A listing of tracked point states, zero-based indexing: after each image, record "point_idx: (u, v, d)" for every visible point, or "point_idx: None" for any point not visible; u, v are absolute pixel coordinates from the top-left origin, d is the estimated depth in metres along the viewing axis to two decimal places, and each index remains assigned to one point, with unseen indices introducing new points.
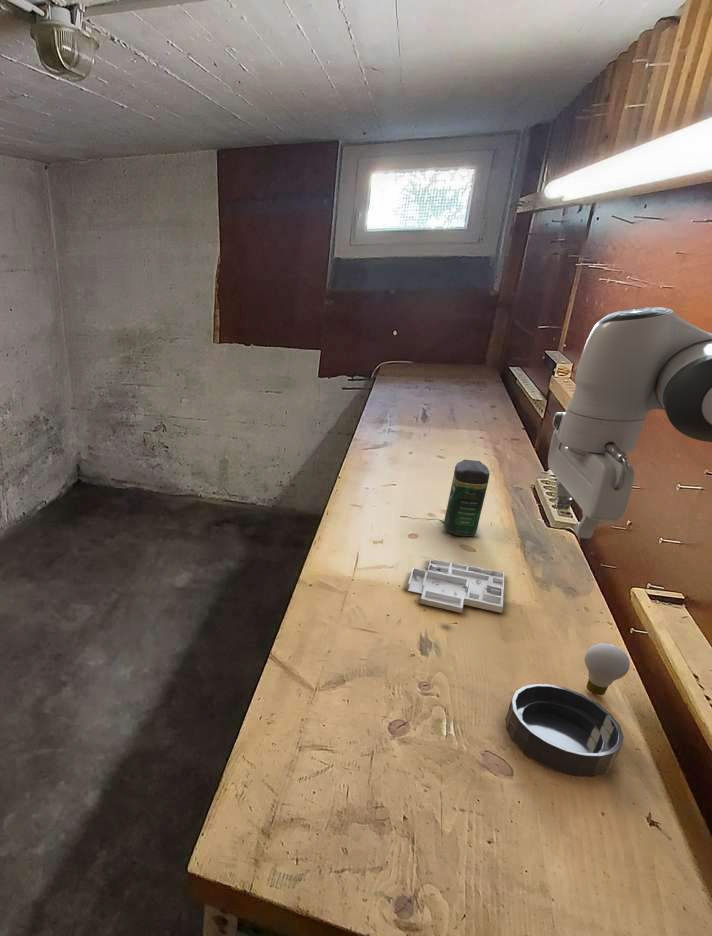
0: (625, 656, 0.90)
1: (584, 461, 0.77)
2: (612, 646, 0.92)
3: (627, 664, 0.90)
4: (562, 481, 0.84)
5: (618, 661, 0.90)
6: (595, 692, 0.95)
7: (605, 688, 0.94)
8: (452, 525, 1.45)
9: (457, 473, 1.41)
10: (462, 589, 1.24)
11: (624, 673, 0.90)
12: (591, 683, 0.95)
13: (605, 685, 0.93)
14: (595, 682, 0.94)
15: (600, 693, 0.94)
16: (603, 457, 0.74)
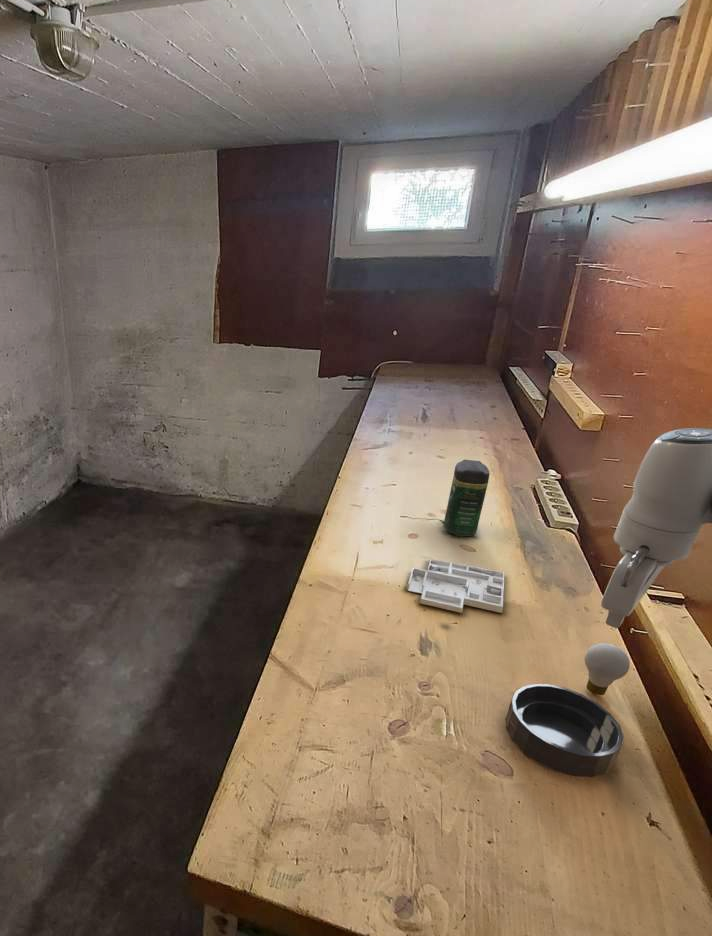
0: (625, 656, 0.90)
1: None
2: (612, 646, 0.92)
3: (627, 664, 0.90)
4: None
5: (618, 661, 0.90)
6: (595, 692, 0.95)
7: (605, 688, 0.94)
8: (452, 525, 1.45)
9: (457, 473, 1.41)
10: (462, 589, 1.24)
11: (624, 673, 0.90)
12: (591, 683, 0.95)
13: (605, 685, 0.93)
14: (595, 682, 0.94)
15: (600, 693, 0.94)
16: None
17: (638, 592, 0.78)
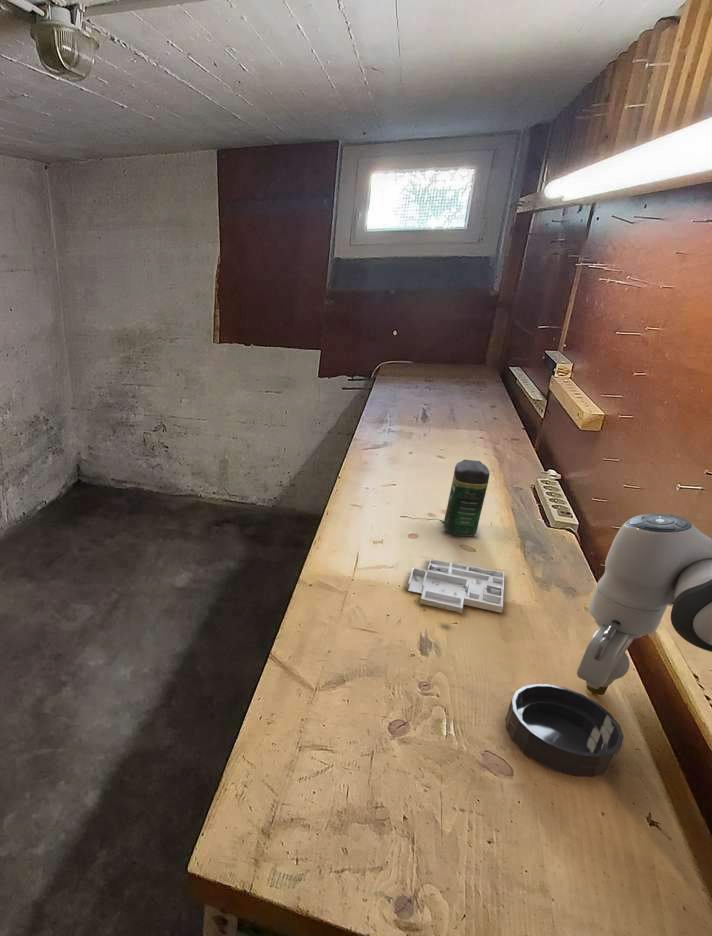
0: (625, 656, 0.91)
1: None
2: None
3: (627, 663, 0.90)
4: None
5: None
6: (595, 692, 0.94)
7: (605, 688, 0.94)
8: (452, 525, 1.45)
9: (457, 473, 1.41)
10: (462, 589, 1.24)
11: (624, 672, 0.90)
12: None
13: (605, 685, 0.93)
14: None
15: (600, 693, 0.94)
16: (604, 631, 0.87)
17: (610, 666, 0.84)
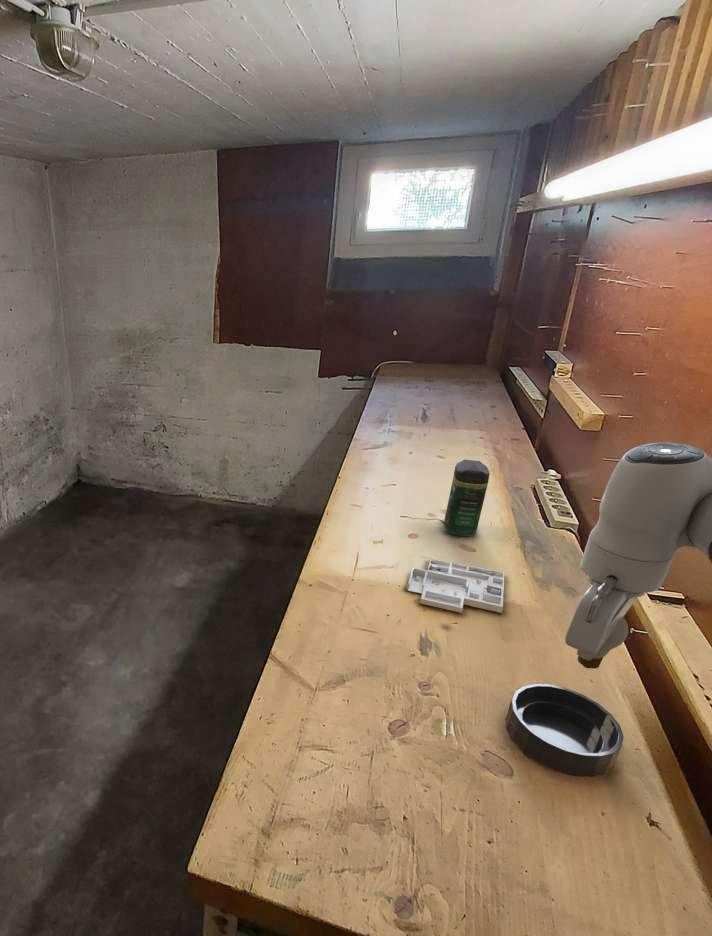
0: (623, 620, 0.76)
1: None
2: None
3: (625, 629, 0.76)
4: None
5: None
6: (588, 665, 0.80)
7: (599, 659, 0.79)
8: (452, 525, 1.45)
9: (457, 473, 1.41)
10: (462, 589, 1.24)
11: (622, 640, 0.76)
12: None
13: (599, 656, 0.78)
14: None
15: (594, 666, 0.80)
16: None
17: (605, 629, 0.69)
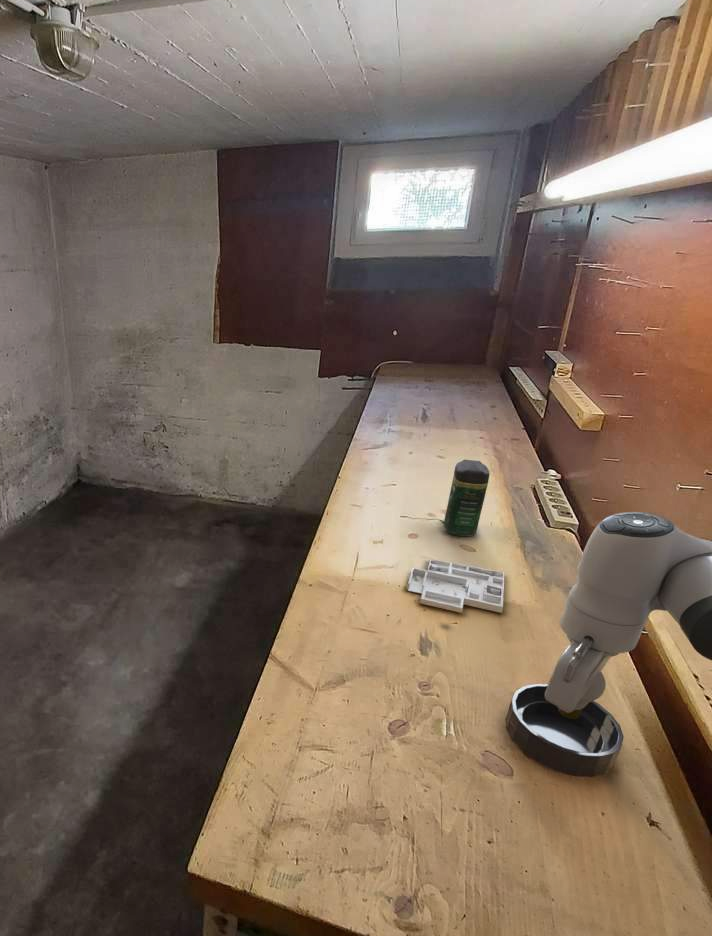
0: (600, 675, 0.80)
1: None
2: None
3: (603, 684, 0.79)
4: None
5: None
6: (568, 715, 0.84)
7: (579, 711, 0.83)
8: (452, 525, 1.45)
9: (457, 473, 1.41)
10: (462, 589, 1.24)
11: (599, 694, 0.80)
12: None
13: (578, 707, 0.82)
14: None
15: (573, 717, 0.83)
16: (576, 648, 0.76)
17: (581, 688, 0.73)
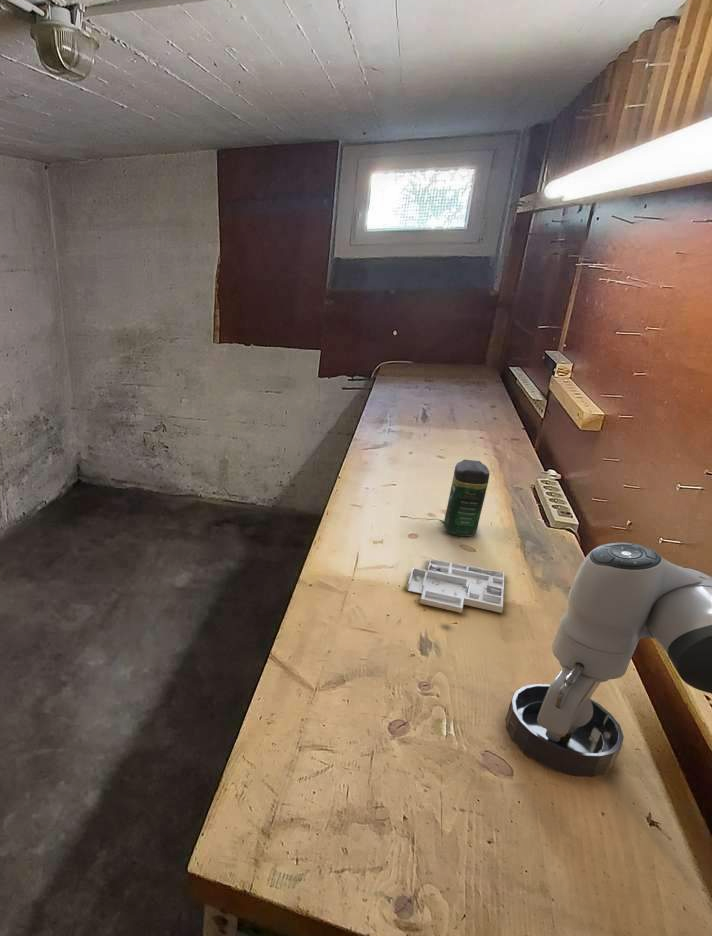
0: (587, 702, 0.81)
1: None
2: None
3: (590, 711, 0.81)
4: None
5: None
6: None
7: (569, 734, 0.85)
8: (452, 525, 1.45)
9: (457, 473, 1.41)
10: (462, 589, 1.24)
11: (587, 721, 0.81)
12: None
13: (568, 732, 0.84)
14: None
15: (565, 740, 0.85)
16: (567, 674, 0.78)
17: (572, 714, 0.75)
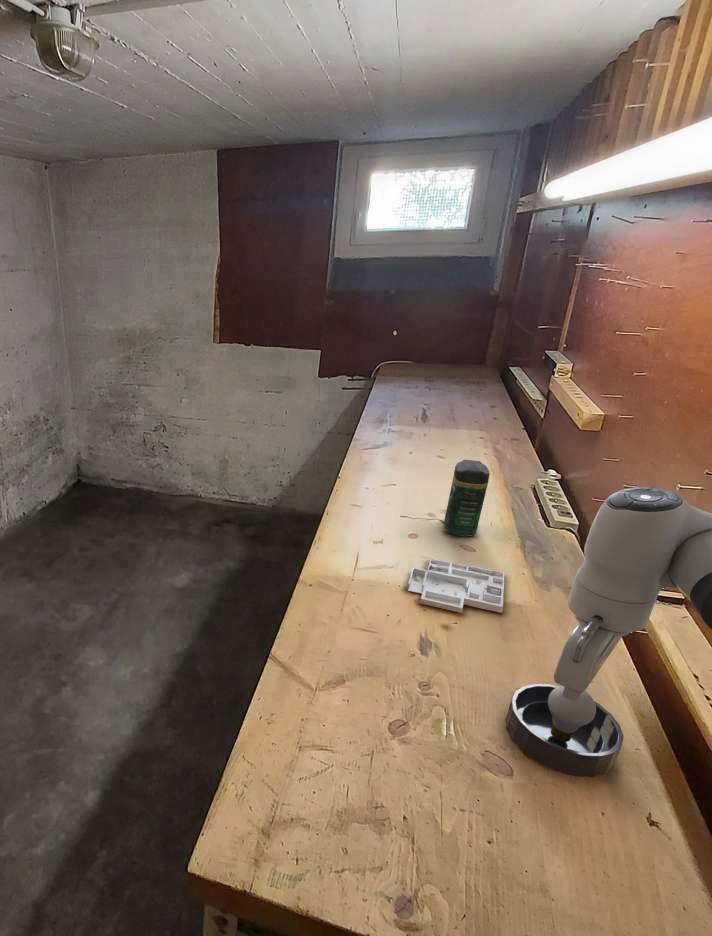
0: (591, 701, 0.82)
1: None
2: None
3: (593, 710, 0.81)
4: None
5: (582, 706, 0.81)
6: (559, 738, 0.86)
7: (570, 734, 0.85)
8: (452, 525, 1.45)
9: (457, 473, 1.41)
10: (462, 589, 1.24)
11: (590, 719, 0.82)
12: (555, 729, 0.86)
13: (570, 731, 0.84)
14: (559, 728, 0.85)
15: (565, 740, 0.86)
16: (584, 628, 0.74)
17: (591, 669, 0.71)
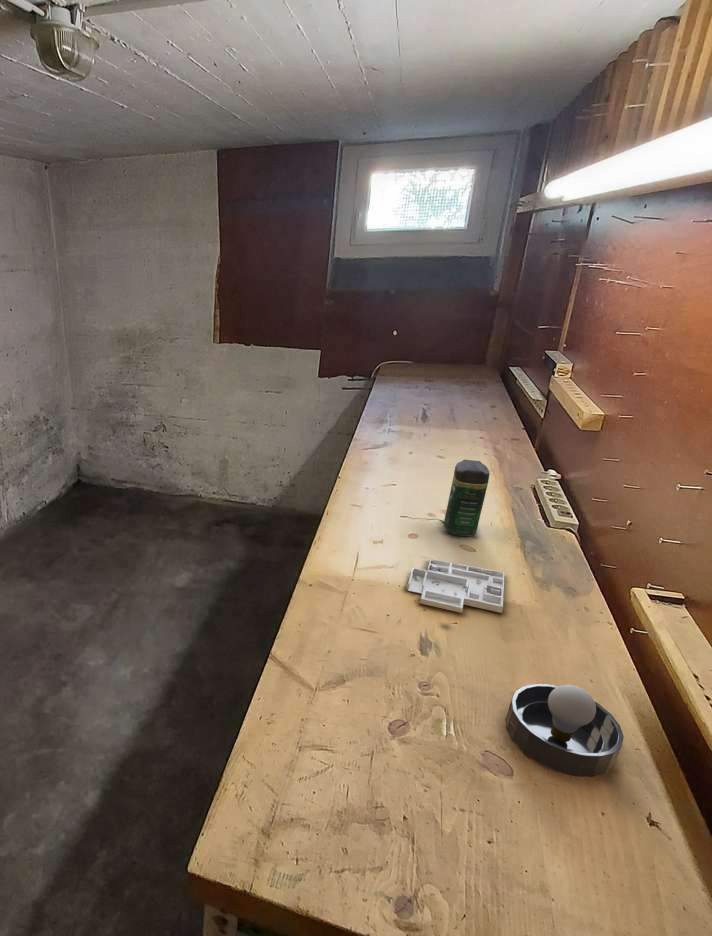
0: (591, 701, 0.82)
1: None
2: (577, 689, 0.83)
3: (593, 710, 0.81)
4: None
5: (582, 706, 0.81)
6: (559, 738, 0.86)
7: (570, 734, 0.85)
8: (452, 525, 1.45)
9: (457, 473, 1.41)
10: (462, 589, 1.24)
11: (590, 719, 0.82)
12: (555, 729, 0.86)
13: (570, 731, 0.84)
14: (559, 728, 0.85)
15: (565, 740, 0.86)
16: None
17: None
